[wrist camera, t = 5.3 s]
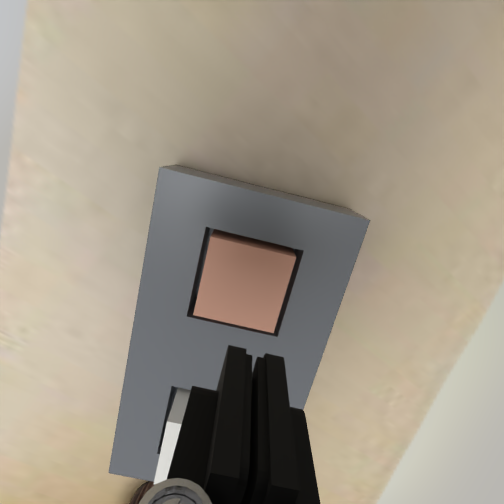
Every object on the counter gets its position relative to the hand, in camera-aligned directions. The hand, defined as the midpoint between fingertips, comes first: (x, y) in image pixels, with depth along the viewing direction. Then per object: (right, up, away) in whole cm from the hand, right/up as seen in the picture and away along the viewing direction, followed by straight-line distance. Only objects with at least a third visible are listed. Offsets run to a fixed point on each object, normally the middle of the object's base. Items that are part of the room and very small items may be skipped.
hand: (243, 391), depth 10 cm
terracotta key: (0, +3, +13) cm, 13 cm away
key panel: (-2, -2, +15) cm, 16 cm away
